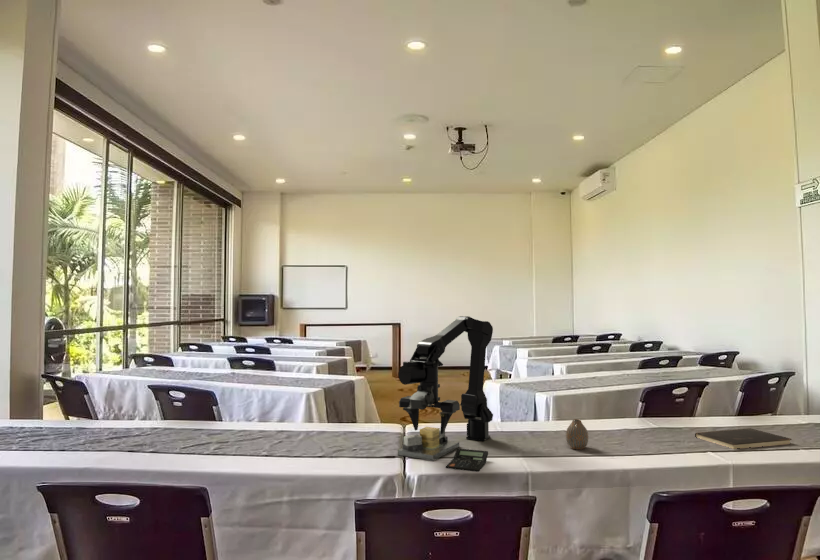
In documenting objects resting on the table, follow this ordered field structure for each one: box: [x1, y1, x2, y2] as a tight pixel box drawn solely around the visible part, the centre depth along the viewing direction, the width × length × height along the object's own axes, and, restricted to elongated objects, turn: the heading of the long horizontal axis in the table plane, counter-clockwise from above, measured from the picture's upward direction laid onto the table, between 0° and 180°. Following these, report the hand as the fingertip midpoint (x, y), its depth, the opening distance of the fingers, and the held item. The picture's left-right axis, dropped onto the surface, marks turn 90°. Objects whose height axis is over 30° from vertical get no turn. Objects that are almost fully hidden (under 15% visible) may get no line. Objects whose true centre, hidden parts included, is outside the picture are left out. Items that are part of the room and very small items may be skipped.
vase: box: [565, 418, 589, 451], centre depth 174 cm, size 7×7×9 cm
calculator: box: [445, 447, 489, 472], centre depth 157 cm, size 9×12×3 cm
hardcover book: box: [694, 427, 792, 450], centre depth 182 cm, size 16×23×2 cm
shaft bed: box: [397, 427, 460, 462], centre depth 171 cm, size 12×18×5 cm, turn 150°
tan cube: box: [419, 426, 440, 448], centre depth 171 cm, size 5×5×5 cm
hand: (429, 432), depth 171 cm, fingers open, 9 cm apart
